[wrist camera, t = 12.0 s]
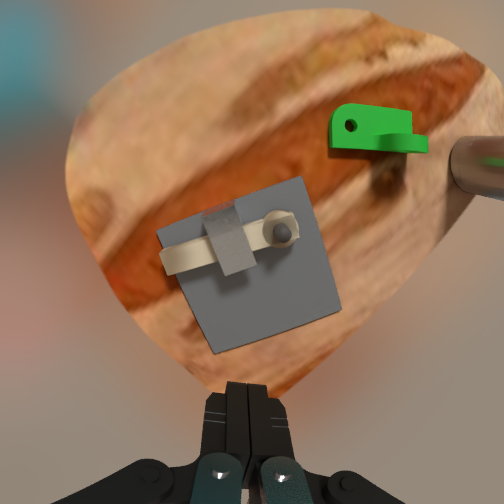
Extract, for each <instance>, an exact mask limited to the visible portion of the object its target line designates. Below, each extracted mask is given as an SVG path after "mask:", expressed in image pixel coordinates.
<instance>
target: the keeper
mask: <svg viewBox="0 0 504 504" xmlns="http://www.w3.org/2000/svg"><path fill="white" fill-rule="evenodd" d="M201 219H202V222H203V224H204V226H205V229H206V231H207V234H208V236H209V239H210V241H211V244H212V246H213V248H214V251H215V253H216V256H217V258H218V260H219V263H220V265H221V268H222V270H223V272H224V275H225V276H227V275H230V274H233V273H236V272H238V271H241V270H244V269H247V268H249V267H252V266H255V265H257V262H256V259H255V257H254V254H253V251H252V249H251V246H250V244H249V241H248V238H247V236H246V233H245V230H244V228H243V225H242V218H241V216H240V213H239V211H238V208H237V205H236V203H235V200H233V201H231V202H228V203H225V204H223V205H220V206H217V207H215V208H212V209H210V210H207V211H205V212H204V213H203V215H202V216H201Z"/></svg>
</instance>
